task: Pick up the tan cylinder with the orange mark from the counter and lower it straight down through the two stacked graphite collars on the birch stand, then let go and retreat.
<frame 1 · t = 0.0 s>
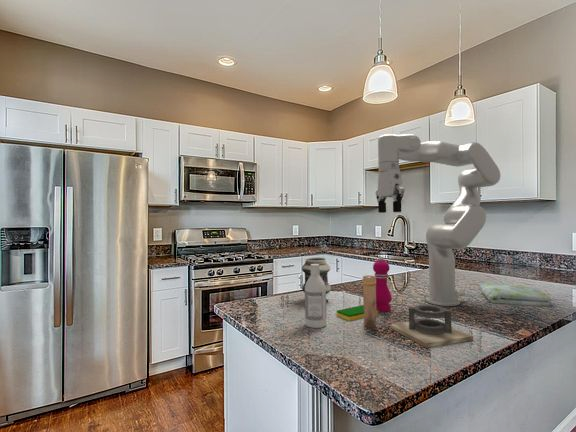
hand: (389, 212, 125), 37 cm above the worktop, tool pointing down, fingers open, 9 cm apart
tan cylinder: (370, 326, 105), on the worktop
dish sponge: (357, 316, 117), on the worktop
towel: (512, 300, 134), on the worktop
collar stand: (429, 333, 97), on the worktop
pepper mill: (381, 309, 123), on the worktop
apothecary jar: (316, 302, 136), on the worktop
bath foam: (316, 325, 107), on the worktop
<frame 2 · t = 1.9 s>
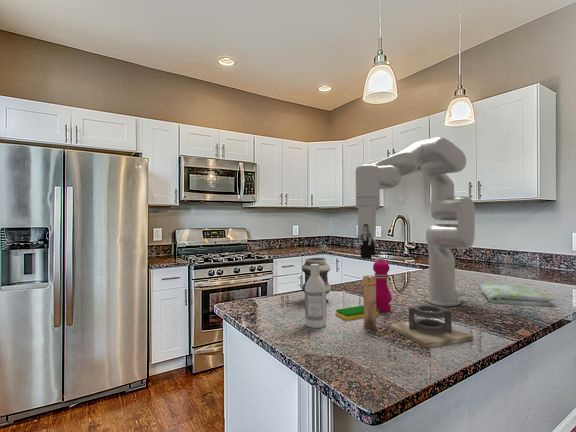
hand: (368, 256, 105), 23 cm above the worktop, tool pointing down, fingers open, 9 cm apart
nothing on the worktop moved.
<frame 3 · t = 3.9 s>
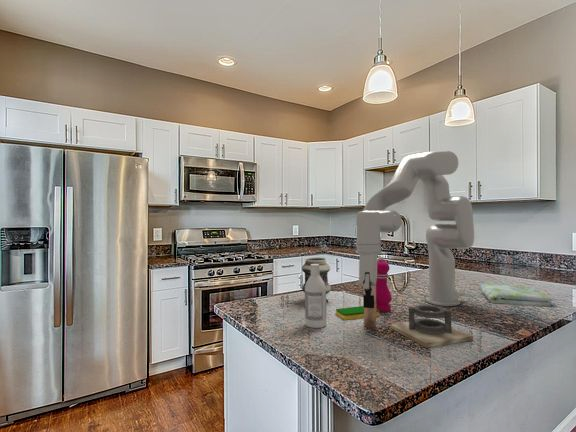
hand: (369, 305, 105), 7 cm above the worktop, tool pointing down, fingers closed on tan cylinder, 4 cm apart
tan cylinder: (370, 326, 105), on the worktop, touching gripper
everything else where it was.
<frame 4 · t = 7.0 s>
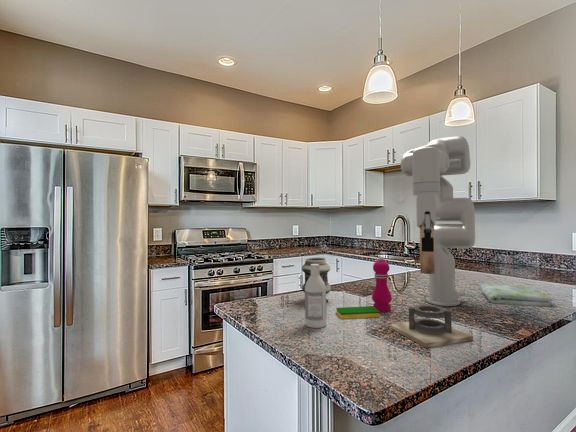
hand: (427, 249, 97), 25 cm above the worktop, tool pointing down, fingers closed on tan cylinder, 4 cm apart
tan cylinder: (427, 272, 97), point 18 cm above the worktop, touching gripper
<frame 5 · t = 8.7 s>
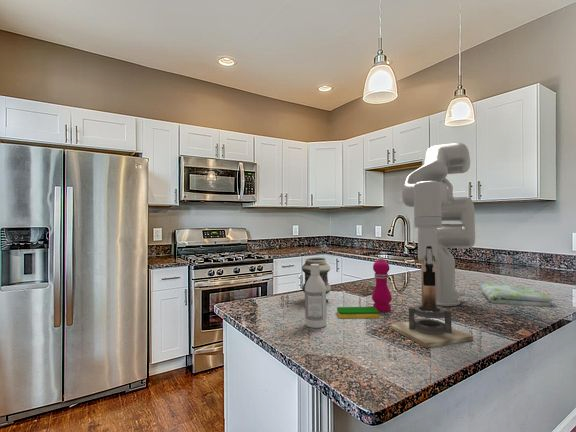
hand: (428, 283, 97), 15 cm above the worktop, tool pointing down, fingers closed on tan cylinder, 4 cm apart
tan cylinder: (429, 306, 97), point 8 cm above the worktop, touching gripper
when the fingers open (9 cm above the worktop, at t = 10.3 s): tan cylinder stays where it is, resting on collar stand.
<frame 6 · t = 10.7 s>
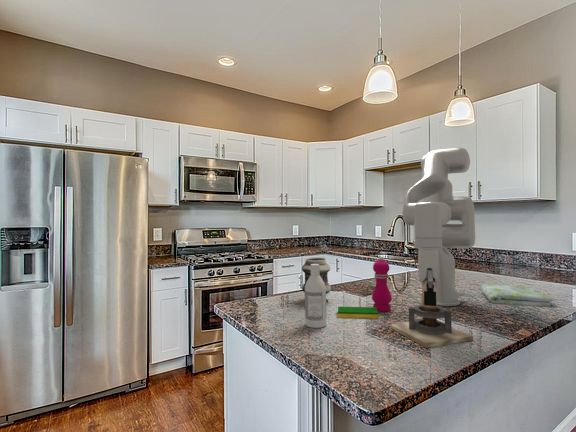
hand: (429, 301, 97), 10 cm above the worktop, tool pointing down, fingers open, 8 cm apart
tan cylinder: (429, 329, 97), point 1 cm above the worktop, touching collar stand
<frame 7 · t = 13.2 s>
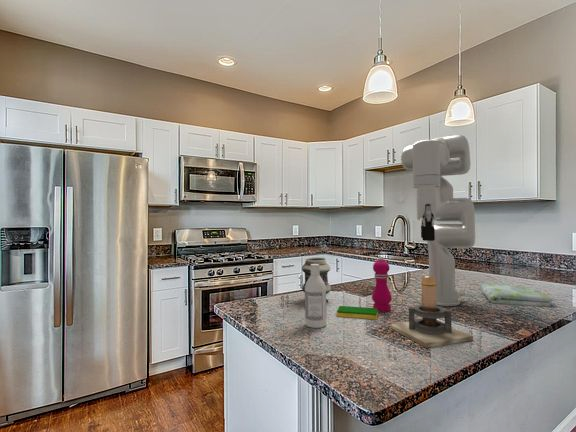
hand: (427, 239, 98), 28 cm above the worktop, tool pointing down, fingers open, 9 cm apart
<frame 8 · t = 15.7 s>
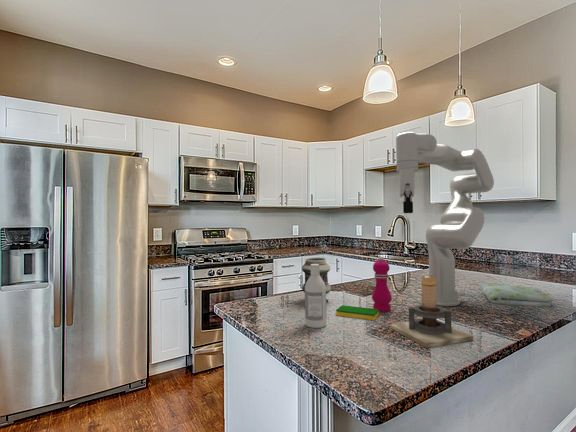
hand: (408, 213, 120), 36 cm above the worktop, tool pointing down, fingers open, 9 cm apart
at the end: tan cylinder 0.1 cm off-centre on the collar stand, point 1.2 cm above the collar stand's base; tan cylinder tilted 0°; the gripper is holding nothing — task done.
